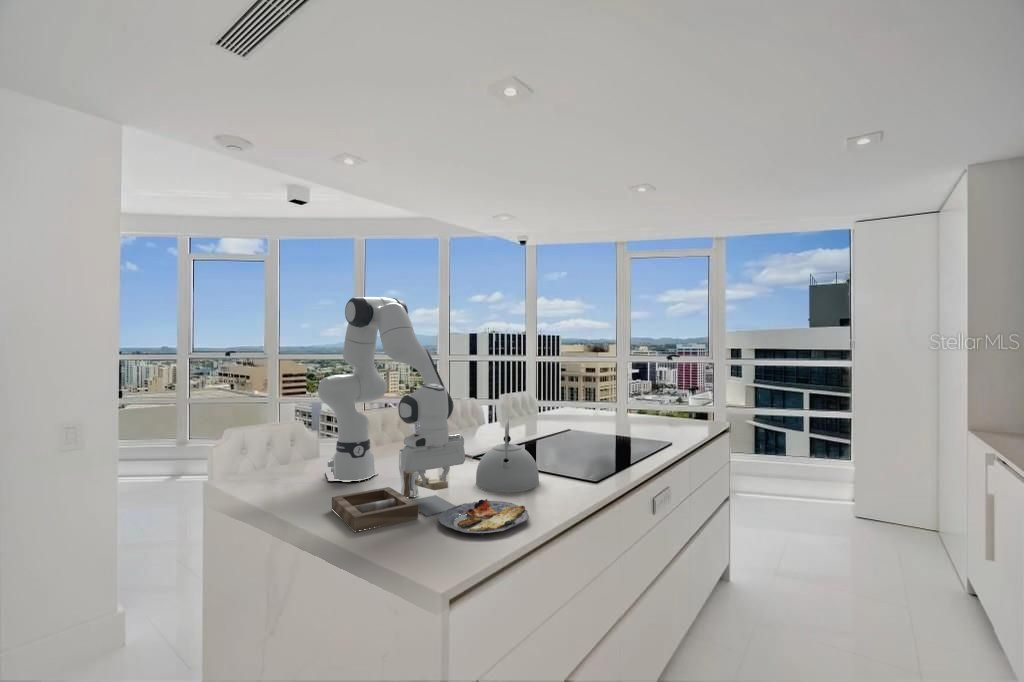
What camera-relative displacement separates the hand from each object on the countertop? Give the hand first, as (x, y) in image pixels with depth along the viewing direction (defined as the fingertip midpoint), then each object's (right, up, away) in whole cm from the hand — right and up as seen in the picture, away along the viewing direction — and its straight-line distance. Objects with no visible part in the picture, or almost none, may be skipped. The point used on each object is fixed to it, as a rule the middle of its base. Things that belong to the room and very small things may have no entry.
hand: (434, 482), depth 150 cm
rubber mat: (-1, -8, +2) cm, 8 cm away
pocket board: (-17, -8, -6) cm, 19 cm away
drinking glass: (-10, -8, +12) cm, 18 cm away
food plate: (+16, -8, -12) cm, 22 cm away
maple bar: (-1, -1, +2) cm, 2 cm away
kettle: (+22, -8, +26) cm, 35 cm away
